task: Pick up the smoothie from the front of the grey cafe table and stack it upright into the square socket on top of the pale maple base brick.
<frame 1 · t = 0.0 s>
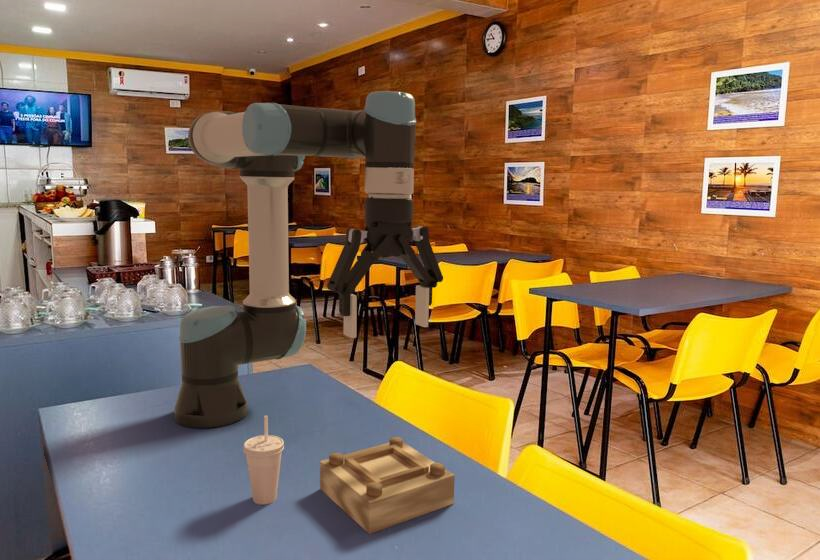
hand: (387, 330, 99), 28 cm above the table, fingers open, 13 cm apart
smoothie: (264, 499, 102), on the table
base brick: (385, 496, 103), on the table
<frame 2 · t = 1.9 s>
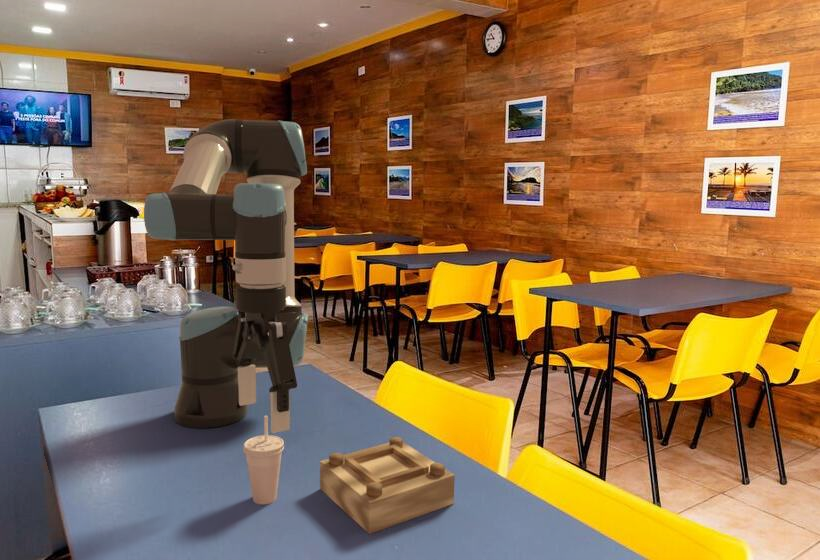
hand: (263, 416, 99), 14 cm above the table, fingers open, 13 cm apart
nothing on the table moved.
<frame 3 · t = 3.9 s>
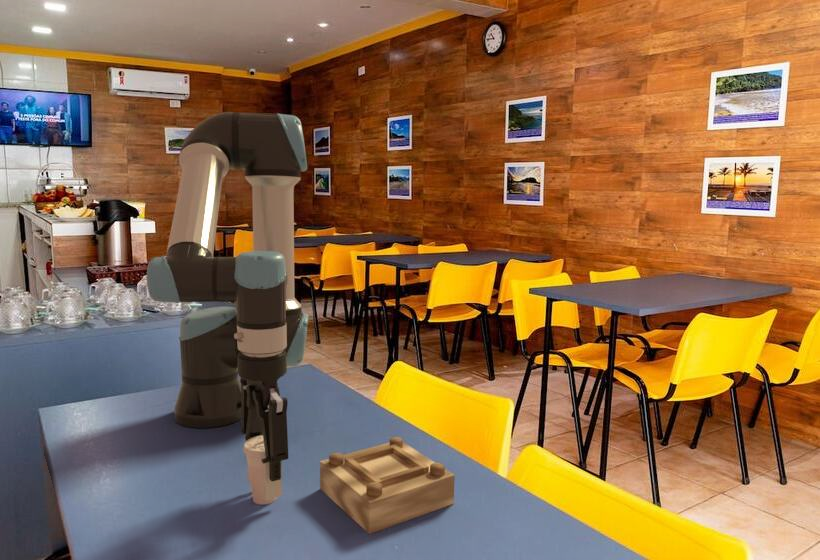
hand: (264, 487, 101), 2 cm above the table, fingers closed on smoothie, 6 cm apart
smoothie: (264, 499, 102), on the table, touching gripper
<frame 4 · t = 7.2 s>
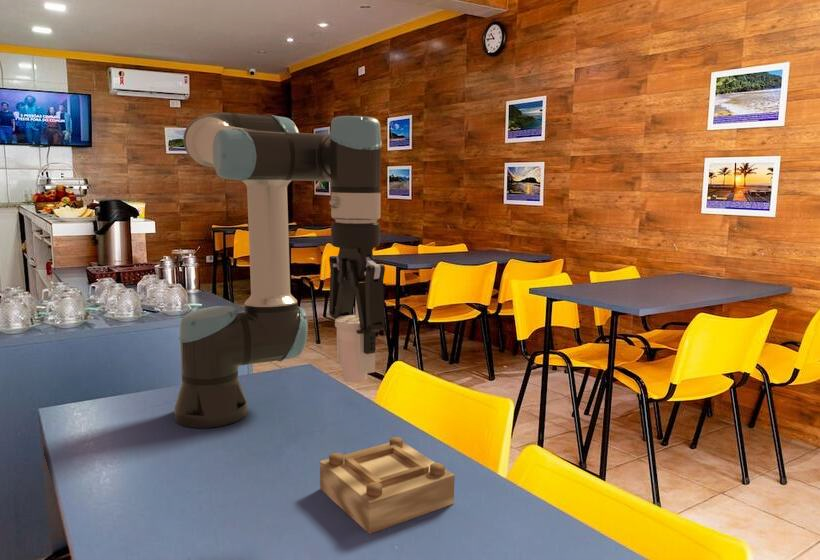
hand: (355, 366, 99), 22 cm above the table, fingers closed on smoothie, 6 cm apart
smoothie: (354, 379, 99), point 20 cm above the table, touching gripper
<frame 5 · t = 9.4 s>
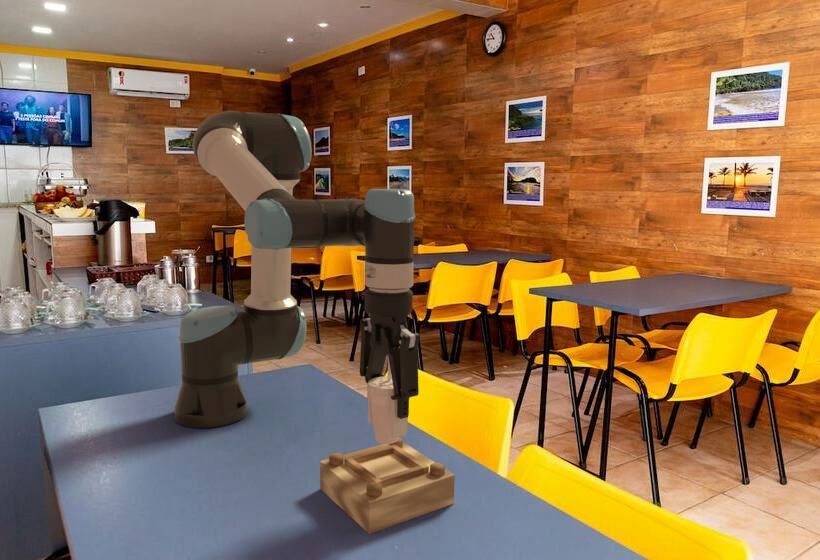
hand: (387, 428, 101), 12 cm above the table, fingers closed on smoothie, 6 cm apart
smoothie: (386, 440, 102), point 10 cm above the table, touching gripper
when the fingers open (9 cm above the table, at t = 10.8 s): smoothie drops 2 cm, resting on base brick.
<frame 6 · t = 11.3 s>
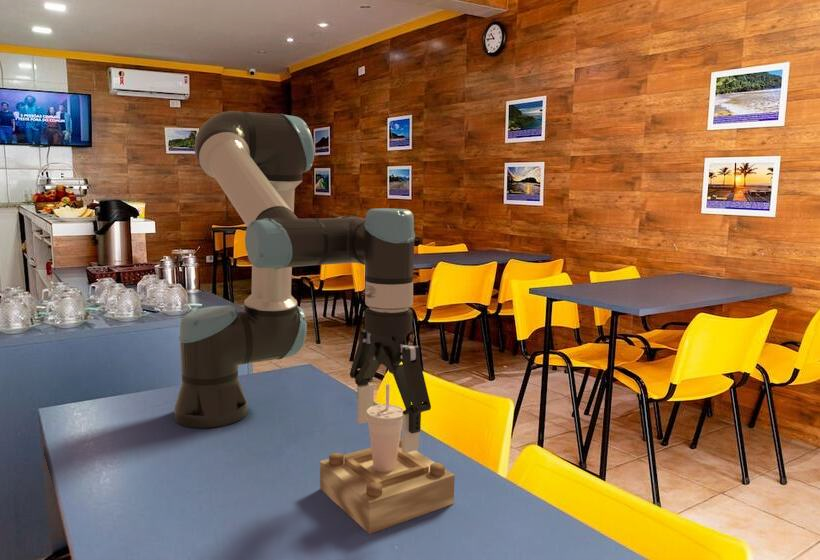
hand: (386, 435, 101), 11 cm above the table, fingers open, 13 cm apart
smoothie: (384, 467, 103), point 5 cm above the table, touching base brick
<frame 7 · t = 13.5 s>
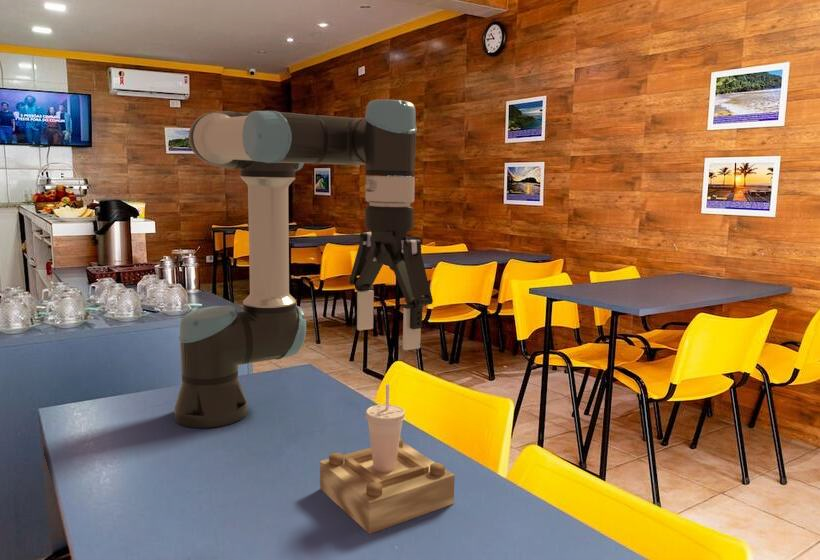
hand: (387, 338, 99), 27 cm above the table, fingers open, 13 cm apart
nothing on the table moved.
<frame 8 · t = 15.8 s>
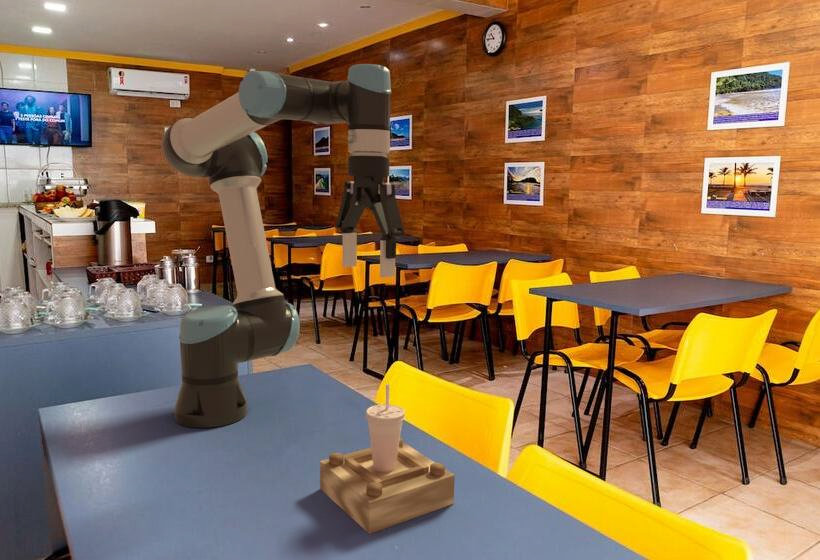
hand: (367, 271, 116), 35 cm above the table, fingers open, 13 cm apart
nothing on the table moved.
at the end: smoothie 0.5 cm off-centre on the base brick, point 4.8 cm above the base brick's base; smoothie tilted 0°; the gripper is holding nothing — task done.
